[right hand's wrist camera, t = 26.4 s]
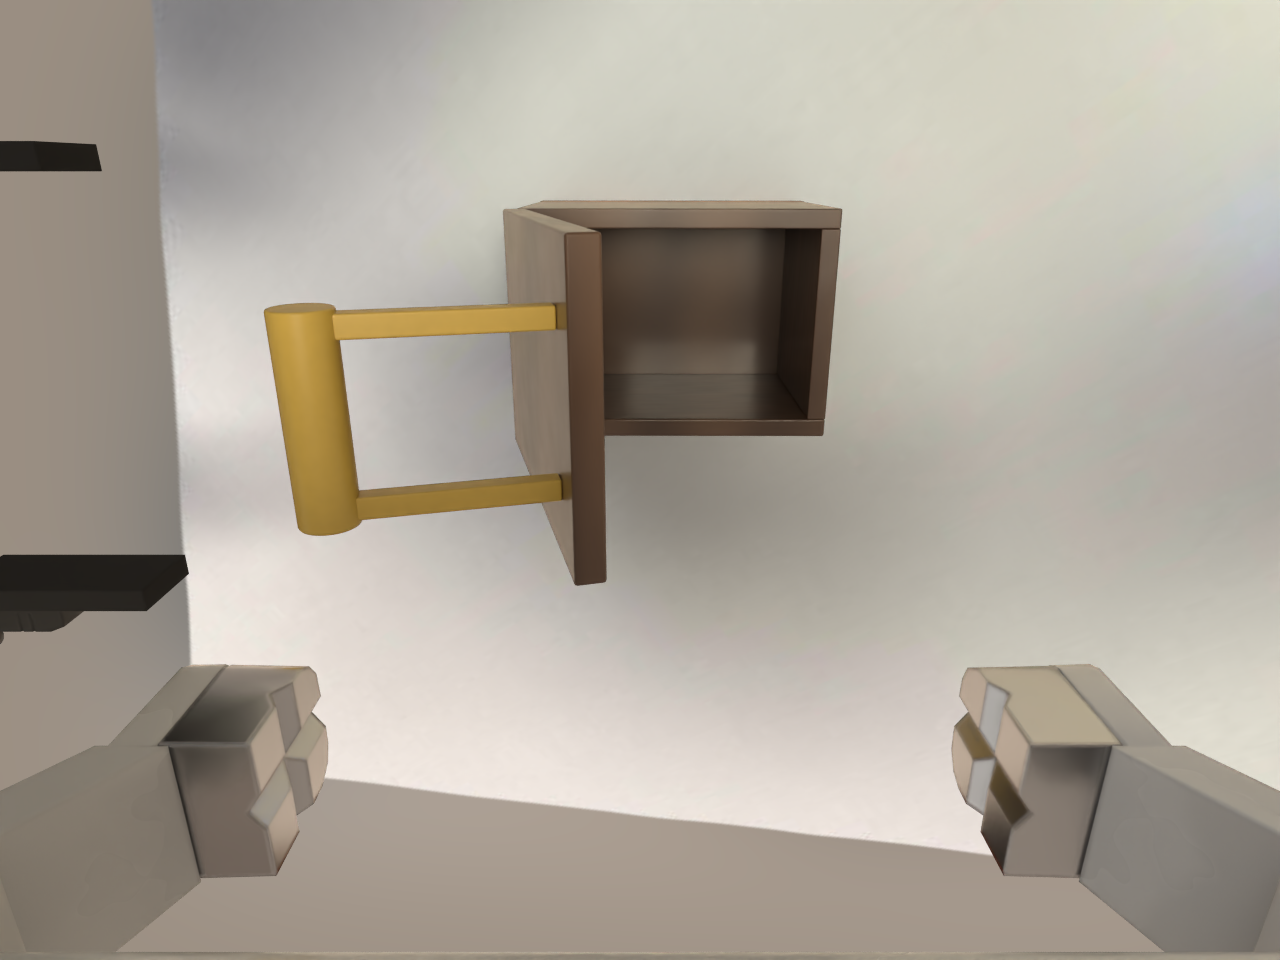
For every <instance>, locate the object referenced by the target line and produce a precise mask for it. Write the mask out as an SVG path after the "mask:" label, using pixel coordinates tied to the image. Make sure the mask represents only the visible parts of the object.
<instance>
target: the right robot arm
mask: <svg viewBox="0 0 1280 960" xmlns="http://www.w3.org/2000/svg"><path fill="white" fill-rule="evenodd" d="M320 697H321V694H320V690H319V685H318V680H317V675H316V673H315V672H314V671H313V670H312V669H311V668H310V667H309V666H265V665H230V666H229V665H226V664H220V665H190V666H186V667H182V668H181V669H180V670H179V671H178V672H177V673H176V674H175V675H174V676H173V677H172V678H171V679H170V680H169V681H168V682H167V684H166V685H165V686H164V687H163V688H162V689H161V690H160V691H159V692H158V693H157V694H156V695H155V696H154V697H153V698H152V700H151V701H150V702H149V703H148V704H147V705H146V706H145V707H144V708H143V709H142V710H141V711H140V712H139V713H138V714H137V716H136V717H135V718H134V719H133V720H132V721H131V722H130V723H129V724H128V725H127V726H126V727H125V729H123V730H122V732H121V733H120V734H119V735H118V736H117V737H116V738H115V739H114V740H113V741H112V742H111V743H110V744H109V745H108V746H94V747H91V748H89V749H87V750H85V751H83V752H81V753H79V754H77V755H75V756H73V757H71V758H69V759H66V760H64V761H62V762H60V763H58V764H56V765H54V766H52V767H50V768H48V769H45V770H43V771H41V772H39V773H37V774H35V775H33V776H31V777H29V778H27V779H25V780H22V781H20V782H18V783H16V784H14V785H12V786H10V787H8V788H6V789H4V790H2V791H0V960H1280V791H1278V790H1276V789H1274V788H1272V787H1270V786H1268V785H1266V784H1264V783H1262V782H1259V781H1257V780H1255V779H1253V778H1251V777H1249V776H1247V775H1245V774H1243V773H1241V772H1239V771H1237V770H1234V769H1232V768H1230V767H1228V766H1226V765H1224V764H1222V763H1220V762H1218V761H1216V760H1214V759H1212V758H1209V757H1207V756H1205V755H1203V754H1201V753H1199V752H1197V751H1195V750H1193V749H1191V748H1189V747H1186V746H1172V745H1171V744H1170V743H1169V742H1168V741H1167V740H1166V739H1165V738H1164V737H1163V736H1162V735H1161V734H1160V733H1159V731H1158V730H1157V729H1156V728H1155V727H1154V726H1153V725H1152V724H1151V723H1150V722H1149V721H1148V720H1147V719H1146V718H1145V717H1144V715H1143V714H1142V713H1141V712H1140V711H1139V710H1138V709H1137V708H1136V707H1135V706H1134V705H1133V704H1132V703H1131V702H1130V700H1129V699H1128V698H1127V697H1126V696H1125V695H1124V694H1123V693H1122V692H1121V691H1120V690H1119V689H1118V688H1117V687H1116V686H1115V684H1114V683H1113V682H1112V681H1111V680H1110V679H1109V678H1108V677H1107V676H1106V675H1105V674H1104V673H1103V672H1102V671H1101V669H1099V668H1097V667H1095V666H1093V665H1090V664H1075V665H1049V666H1024V667H976V668H967V670H966V672H965V674H964V676H963V678H962V683H961V689H960V694H959V697H960V698H961V700H962V702H963V703H964V705H965V707H966V708H967V710H968V713H967V714H966V715H965V716H964V717H963V718H962V719H961V720H960V721H959V722H958V723H957V724H956V725H955V726H954V733H953V741H952V760H953V771H954V775H955V778H956V781H957V785H958V788H959V790H960V792H961V794H962V796H963V798H964V800H965V802H966V804H967V805H969V806H970V807H972V808H973V809H975V810H976V811H978V812H979V813H981V814H982V815H983V821H982V826H981V833H982V835H983V837H984V839H985V841H986V843H987V845H988V847H989V848H990V850H991V852H992V854H993V856H994V858H995V860H996V862H997V864H998V866H999V867H1000V869H1001V871H1002V873H1003V875H1004V876H1026V877H1061V878H1080V879H1079V882H1080V883H1081V884H1083V885H1084V886H1085V887H1086V888H1087V889H1089V890H1090V891H1091V892H1092V893H1093V894H1095V895H1096V896H1097V897H1098V898H1100V899H1101V900H1102V901H1103V902H1104V903H1106V904H1107V905H1108V906H1109V907H1111V908H1112V909H1113V910H1114V911H1115V912H1117V913H1118V914H1119V915H1120V916H1122V917H1123V918H1124V919H1125V920H1126V921H1128V922H1129V923H1130V924H1131V925H1133V926H1134V927H1135V928H1136V929H1137V930H1139V931H1140V932H1141V933H1142V934H1144V935H1145V936H1146V937H1147V938H1148V939H1150V940H1151V941H1152V942H1153V943H1154V944H1156V945H1157V946H1158V947H1159V948H1161V949H1162V950H1163V951H1164V952H116V951H117V950H118V949H120V948H121V947H122V946H123V945H125V944H126V943H127V942H128V941H129V940H131V939H132V938H133V937H134V936H136V935H137V934H138V933H139V932H140V931H142V930H143V929H144V928H145V927H146V926H148V925H149V924H150V923H151V922H153V921H154V920H155V919H156V918H157V917H159V916H160V915H161V914H162V913H164V912H165V911H166V910H167V909H169V908H170V907H171V906H172V905H173V904H175V903H176V902H177V901H178V900H180V899H181V898H182V897H183V896H184V895H186V894H187V893H188V892H189V891H191V890H192V889H193V888H194V887H195V886H197V885H198V884H199V883H200V882H201V879H200V878H217V877H252V876H276V875H277V873H278V871H279V870H280V868H281V866H282V864H283V862H284V860H285V858H286V856H287V854H288V852H289V850H290V849H291V847H292V845H293V843H294V841H295V839H296V837H297V835H298V833H299V826H298V821H297V815H298V814H300V813H301V812H302V811H304V810H305V809H307V808H308V807H310V806H311V805H313V804H314V802H315V800H316V798H317V796H318V794H319V792H320V790H321V788H322V786H323V782H324V777H325V773H326V768H327V764H328V738H327V731H326V726H325V725H324V724H323V723H322V722H321V721H320V720H319V719H318V718H317V717H316V716H315V715H314V714H313V713H312V710H313V708H314V707H315V705H316V703H317V702H318V700H319V698H320Z"/></svg>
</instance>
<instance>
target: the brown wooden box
mask: <svg viewBox="0 0 1280 960" xmlns="http://www.w3.org/2000/svg"><path fill="white" fill-rule="evenodd" d="M518 209H527V210H530V211H533V212H536V213H540V214H543V215H546V216H549V217H553V218H556V219H559V220H562V221H566V222H569V223H572V224H575V225H579V226H582V227H585V228H588V229H591V230H595V231H598V232H600V233H601V235H602V300H603V368H604V435H605V436H823V433H824V419H825V411H826V399H827V387H828V375H829V363H830V351H831V339H832V327H833V315H834V303H835V292H836V280H837V268H838V256H839V244H840V232H841V230H840V228H841V219H842V209H840V208H834V207H829V206H823V205H818V204H812V203H806V202H803V201H540V202H538V203H535V204H531V205H528V206H524V207H521V208H518Z"/></svg>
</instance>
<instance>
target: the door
mask: <svg viewBox="0 0 1280 960" xmlns="http://www.w3.org/2000/svg"><path fill="white" fill-rule="evenodd" d="M503 220H504V238H505V256H506V275H507V293H508V304H495V305H469V306H442V307H415V308H388V309H361V310H336V308H335V307H334V306H333V305H330V304H323V303H296V304H285V305H278V306H273V307H269V308H267V309H265V310H264V317H265V323H266V329H267V335H268V342H269V348H270V354H271V361H272V367H273V373H274V380H275V386H276V392H277V399H278V405H279V411H280V417H281V424H282V430H283V436H284V443H285V449H286V455H287V462H288V468H289V474H290V481H291V487H292V493H293V499H294V506H295V512H296V518H297V525H298V528H299V530H300V531H301V532H303V533H305V534H308V535H315V536H326V535H334V534H339V533H343V532H346V531H349V530H352V529H354V528H355V527H357V526H358V525H359V524H360V523H361V522H362V520H367V519H377V518H388V517H398V516H408V515H419V514H429V513H439V512H450V511H460V510H471V509H481V508H491V507H502V506H512V505H522V504H533V503H542V505H543V508H544V510H545V513H546V515H547V518H548V520H549V522H550V525H551V527H552V530H553V532H554V535H555V537H556V540H557V542H558V544H559V547H560V549H561V552H562V554H563V557H564V559H565V562H566V564H567V567H568V569H569V571H570V574H571V576H572V579H573V581H574V584H575V585H577V586H579V585H587V584H595V583H603V582H606V579H607V572H606V504H605V436H604V368H603V300H602V235H601V233H600V232H598V231H595V230H591V229H588V228H585V227H582V226H579V225H575V224H572V223H569V222H566V221H562V220H559V219H556V218H553V217H549V216H546V215H543V214H540V213H536V212H533V211H530V210H527V209H504V210H503ZM507 332H510V348H511V366H512V384H513V403H514V421H515V439H516V441H517V444H518V446H519V449H520V451H521V454H522V456H523V459H524V461H525V464H526V466H527V468H528V471H529V473H530V476H519V477H507V478H496V479H485V480H473V481H462V482H451V483H439V484H428V485H416V486H405V487H394V488H382V489H371V490H360V491H359V487H358V480H357V472H356V464H355V456H354V448H353V440H352V433H351V425H350V417H349V409H348V401H347V394H346V386H345V378H344V370H343V362H342V354H341V347H340V340H353V339H375V338H397V337H419V336H441V335H463V334H485V333H507Z"/></svg>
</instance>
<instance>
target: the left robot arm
mask: <svg viewBox="0 0 1280 960" xmlns="http://www.w3.org/2000/svg"><path fill="white" fill-rule="evenodd" d="M0 171H102V170H101V165H100V160H99V156H98V151H97V147H96V144H77V143H58V142H39V141H0ZM188 574H189V572H188V567H187V563H186V558H185V555H2V556H1V557H0V644H1V643H2V641H3V639H4V633H3V632H20V631H24V632H33V631H36V632H51V631H54V630H56V629H59V628H62V627H64V626H65V625H67V624H68V623H69V622H71V621H72V620H73V619H74V618H76V617H77V616H78V615H79V614H81V613H82V612H83V611H147V610H148V609H149V608H151V607H152V606H153V605H154V604H155V603H156V602H157V601H159V600H160V599H161V598H162V597H163V596H164V595H165V594H166V593H168V592H169V591H170V590H171V589H172V588H173V587H174V586H175V585H177V584H178V583H179V582H180V581H181V580H182V579H183V578H184V577H186V576H187V575H188Z"/></svg>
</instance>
